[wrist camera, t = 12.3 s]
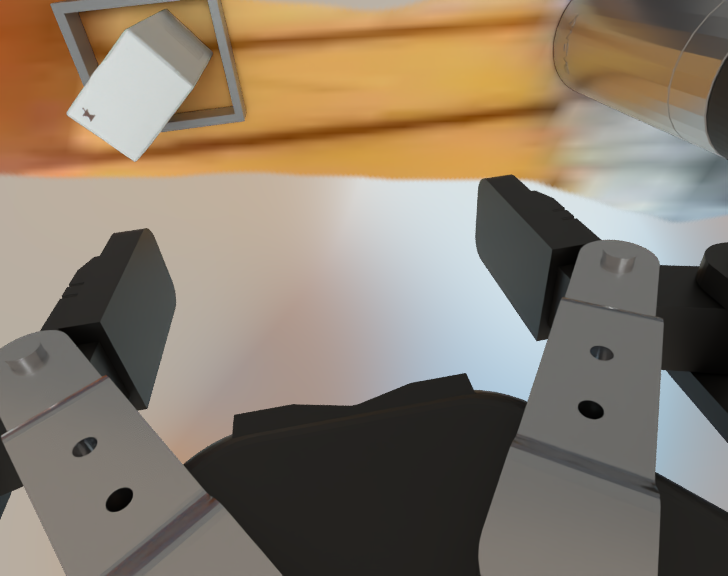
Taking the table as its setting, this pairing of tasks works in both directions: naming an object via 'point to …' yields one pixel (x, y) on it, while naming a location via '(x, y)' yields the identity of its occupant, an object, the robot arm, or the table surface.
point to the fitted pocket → (77, 3)
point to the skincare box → (141, 83)
